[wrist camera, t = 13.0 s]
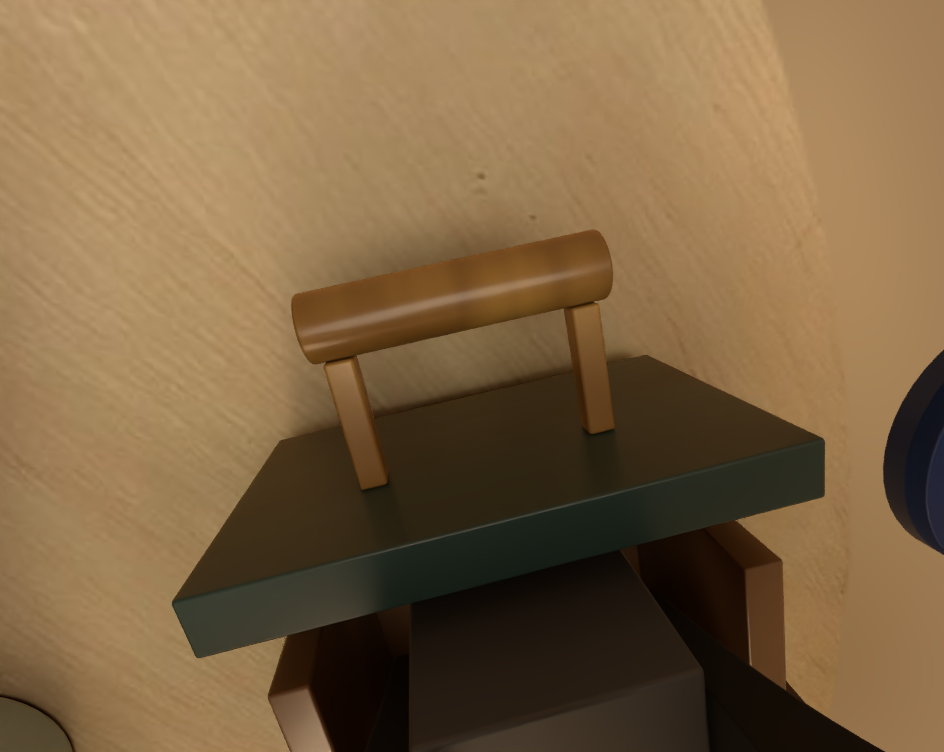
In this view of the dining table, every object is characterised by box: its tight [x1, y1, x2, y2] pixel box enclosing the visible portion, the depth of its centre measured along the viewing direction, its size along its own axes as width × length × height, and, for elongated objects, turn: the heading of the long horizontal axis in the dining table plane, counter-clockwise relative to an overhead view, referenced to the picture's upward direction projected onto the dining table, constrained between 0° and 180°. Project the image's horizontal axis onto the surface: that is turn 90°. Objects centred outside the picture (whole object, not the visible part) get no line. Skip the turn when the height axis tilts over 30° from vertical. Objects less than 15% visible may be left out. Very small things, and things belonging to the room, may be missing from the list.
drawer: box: [172, 230, 825, 752], centre depth 13 cm, size 18×11×7 cm, turn 12°
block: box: [409, 550, 711, 752], centre depth 10 cm, size 4×4×4 cm
